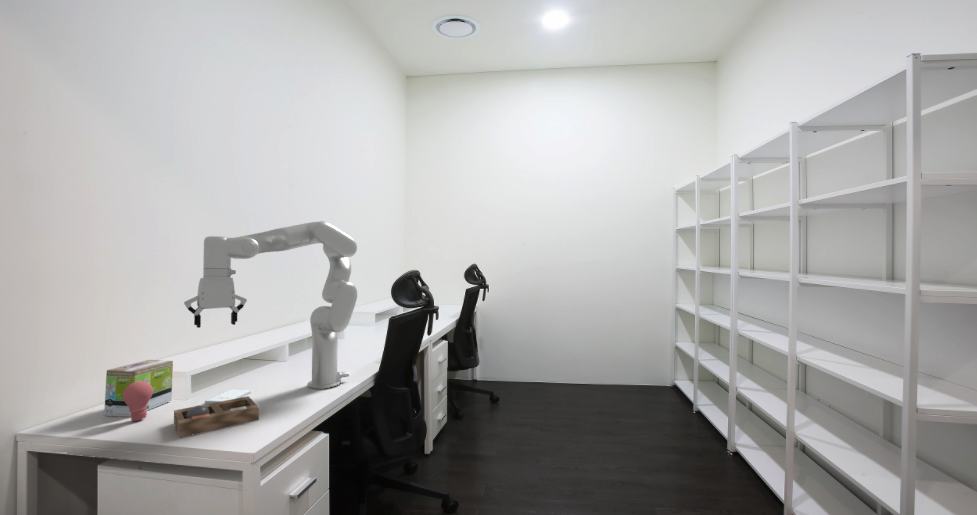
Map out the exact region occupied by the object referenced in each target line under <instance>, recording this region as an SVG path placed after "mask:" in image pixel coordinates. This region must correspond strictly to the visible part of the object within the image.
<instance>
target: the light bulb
mask: <svg viewBox="0 0 977 515" xmlns="http://www.w3.org/2000/svg"><path fill="white" fill-rule="evenodd" d="M152 394H153V388H152V386H151V385H150V384H149V383H147V382H144V381H138V382H134V383H132V384H130V385H129V386H127V387H126V389H125V390H124V392H123V399H124V401H125V403H126V404H127V406H128V407H129V411H130V412H131V417H130V418H131V421H141V420H143V419H146V418H147V415H148V413H147V412H148V410H147V411H146V405H147V403H148V402H149V400H150V398H151V396H152Z"/></svg>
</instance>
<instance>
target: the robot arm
mask: <svg viewBox="0 0 977 515" xmlns="http://www.w3.org/2000/svg"><path fill="white" fill-rule="evenodd" d="M315 244H322V250H323V253H324V254H325V256H326V257H327V259H328V262H329V269H328V273H327V277H326V279H325V283H324V286H323V288H322V292H321V297H322V299H323V301H325V302H326V303H329V304H331V306H329V305H328V306H327V305H322V306H321V305H320V306H318V307H316V308H315V309H314V310H313V311H312V313H311V315H310V319H309V320H310V321H309V322H310V329H311V340H312V342H311V343H312V344H311V346H312V348H311V380H310V381H309V382H307V387H308V389H312V390H325V389H324V388H328V389H331V388H330V387H333V388H335V387H334V386H336V387H338V386H340V385H341V384H342V380H341V379H342V378H349V377H350V373H349V371H347V372H346V371H341V372H339V371H338V347H339V346H338V342H339V341H338V333H341V332H343V331H344V330H345V329H347V327H348V326H349V324H350V321H351V319H352V316H353V312H354V309H355V306H356V303H357V300H358V299H357V298H358V289H357V287H356V286H355V284H353V283H352V282H351V281H350V278H351V273H352V264H351V260H350V258H351V257H353V256H355V254H356V253H357V250H358V245H357V242H356V240H355V239H354V238H353V237H351V235H349V234H347V233H346V232H343V231H342V230H341V229H339V228H337V227H336V226H335V225H333V224H331V223H330V222H326V221H311V222H305V223H299V224H295V225H290V226H284V227H280V228H279V227H278V228H273V229H271V230H267V231H266V230H265V231H262V232H256V233H253V234H247V235H242V236H235V237H227V236H218V235H217V236H214V235H211V236H206V237H204V240H203V270H202V272H203V274H202V277H201V278H200V279H199V282H198V287H197V288H198V289H197V295H196V296H194V297H192V298H189V299H187V300H185V301H184V302H183V304H184V306H185V308H186V309H187V310H188V311H189V312H190V313H192V315H194V316H193V319H194V321H193V322H194V326H196V328H200V329H201V327H202V325H201V324H202V318H201V317H202V316H201V312H202V311H203V310H206V309H208V310H210V309H211V310H212V309H226V308H227V309H228V308H229V309H230V310H231V313H230V324H231V325H232V326H233V325H236V323H237V322H238V313H239V311H240V310H242V309H243V308H244V306H245V304H246V303H247V301H248V300H247V298H245V297H243V296H240V295H238V294H236V291H235V282H234V278H233V277H232V275H236V273H237V271H236V270H235V269H232V267H231V265H232V264H231V261H232V259H234V260H235V259H236V260H237V259H238V260H239V259H241V260H248V259H252V258H255V256H257V255H259V254H264V253H273V252H285V251H289V250H294V249H298V248H302V247H303V248H304V247H307V246H311V245H315ZM236 300H238V301H240V303H239V304H238V305H237V306H236ZM195 302H196V303H197V304H196V305H197V307H196V308H194V307H193V306H192V303H195ZM340 383H341V384H340ZM339 384H340V385H339ZM337 385H338V386H337Z"/></svg>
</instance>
